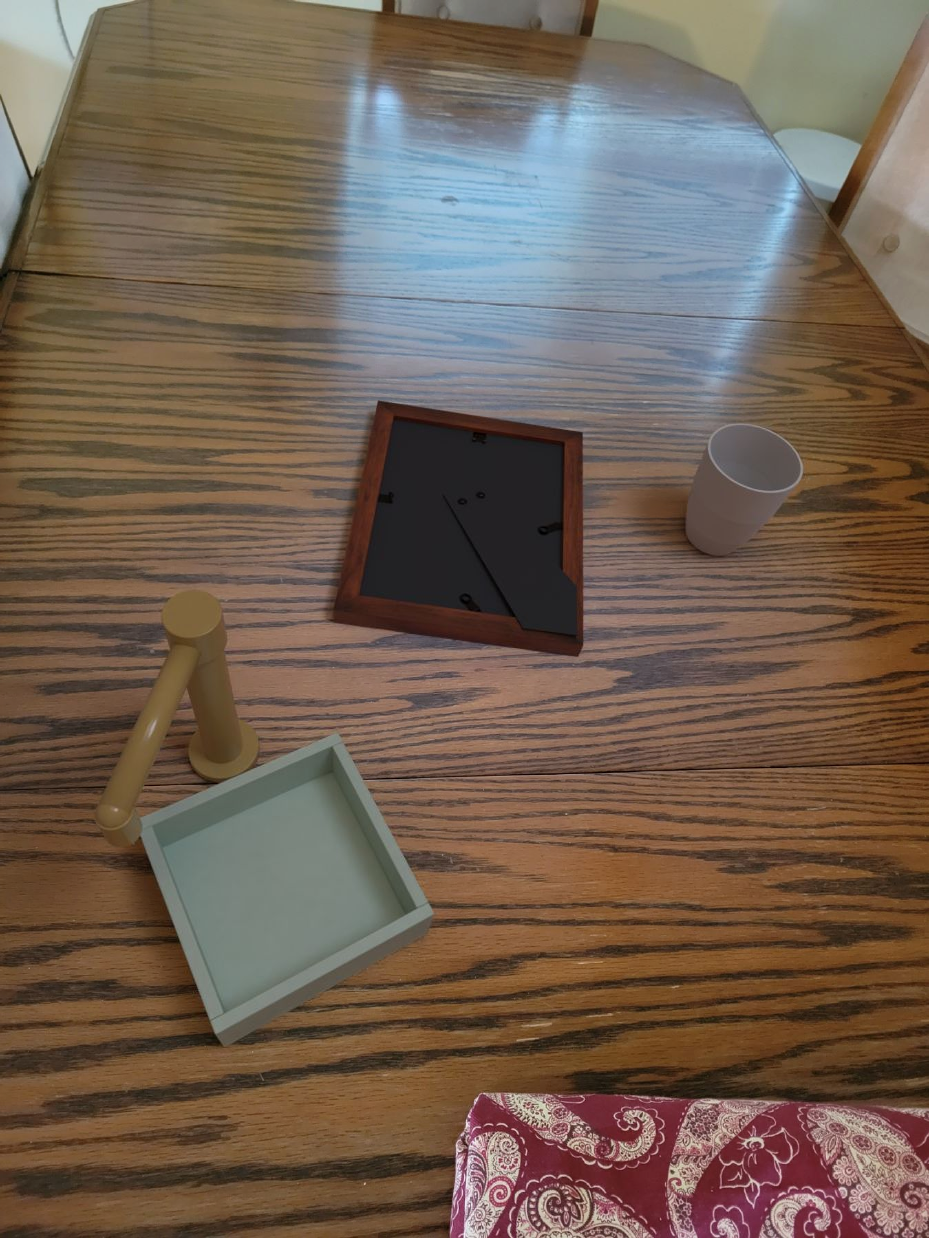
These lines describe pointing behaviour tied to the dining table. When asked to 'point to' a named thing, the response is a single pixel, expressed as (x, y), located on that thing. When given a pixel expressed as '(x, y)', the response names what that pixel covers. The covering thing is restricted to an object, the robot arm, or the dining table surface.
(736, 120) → the dining table surface
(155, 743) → the spout
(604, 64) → the dining table surface
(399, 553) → the picture frame
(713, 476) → the cup
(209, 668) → the faucet base
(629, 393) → the dining table surface
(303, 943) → the sink
